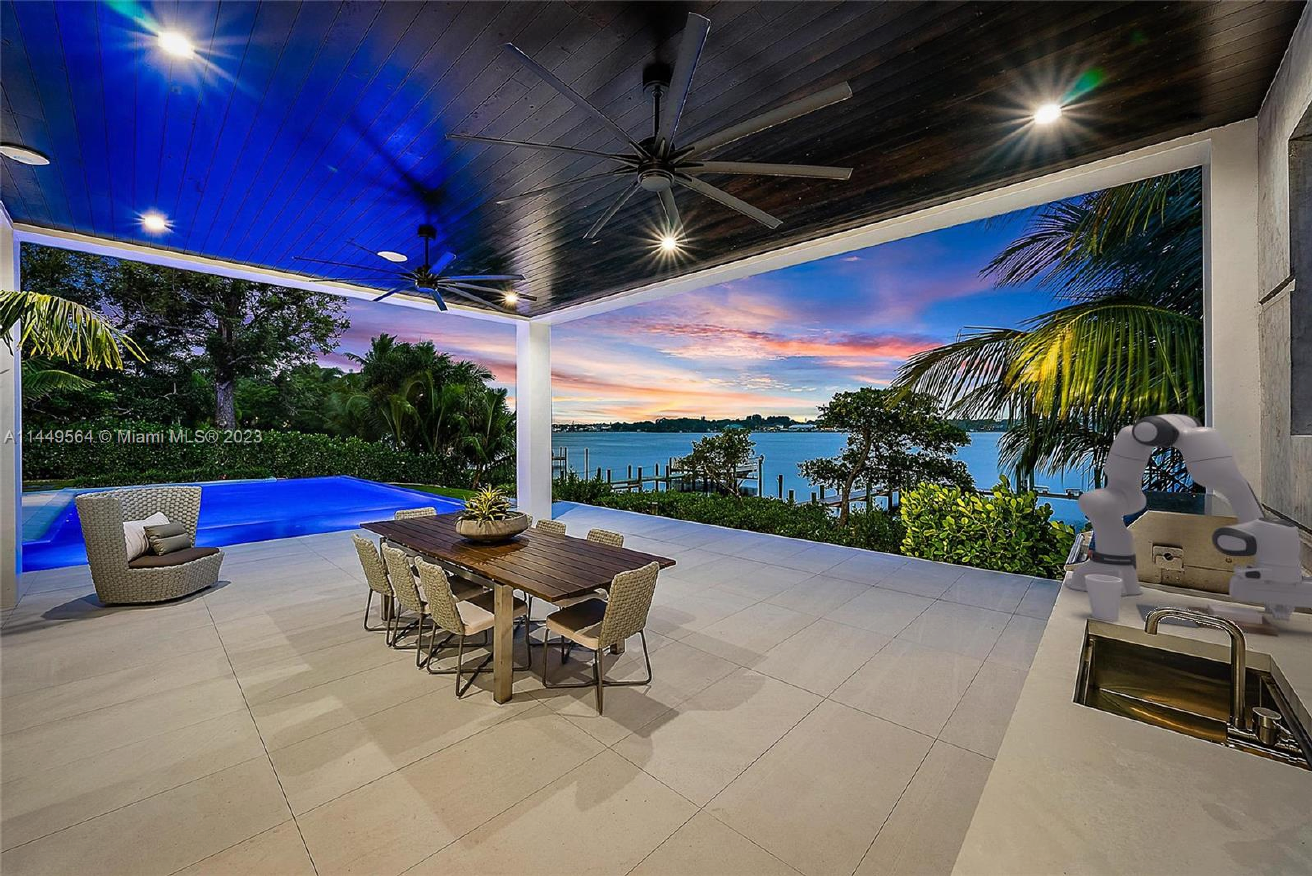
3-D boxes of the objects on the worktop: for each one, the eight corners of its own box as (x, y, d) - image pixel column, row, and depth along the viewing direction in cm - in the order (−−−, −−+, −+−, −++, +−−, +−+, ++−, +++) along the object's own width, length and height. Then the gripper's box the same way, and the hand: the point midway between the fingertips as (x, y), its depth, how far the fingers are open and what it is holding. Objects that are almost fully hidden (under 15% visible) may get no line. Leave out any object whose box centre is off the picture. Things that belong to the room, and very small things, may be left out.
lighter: (1285, 614, 165) (1283, 589, 166) (1285, 615, 164) (1283, 590, 164) (1251, 609, 171) (1250, 585, 171) (1251, 610, 170) (1249, 586, 170)
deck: (1198, 626, 159) (1198, 620, 159) (1188, 612, 171) (1187, 606, 171) (1277, 636, 150) (1277, 629, 150) (1260, 620, 162) (1260, 614, 162)
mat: (1144, 621, 166) (1144, 620, 166) (1136, 605, 180) (1136, 604, 180) (1198, 628, 158) (1198, 626, 158) (1185, 610, 173) (1185, 609, 173)
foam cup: (1113, 624, 165) (1111, 583, 165) (1080, 616, 173) (1078, 577, 173) (1131, 619, 168) (1128, 579, 168) (1097, 611, 177) (1095, 573, 177)
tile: (1213, 618, 160) (1213, 610, 160) (1208, 611, 166) (1207, 604, 166) (1262, 624, 154) (1261, 615, 154) (1254, 616, 160) (1254, 608, 160)
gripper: (1328, 574, 151) (1331, 621, 151) (1226, 567, 163) (1228, 610, 163) (1338, 579, 146) (1341, 629, 146) (1232, 571, 158) (1234, 617, 158)
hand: (1281, 619), depth 154 cm, fingers closed
